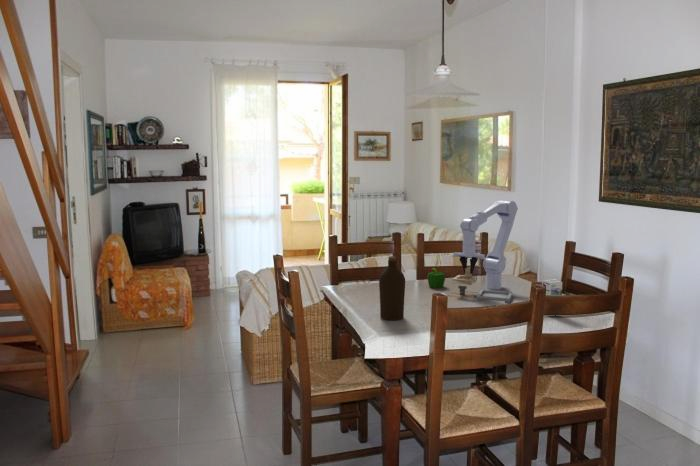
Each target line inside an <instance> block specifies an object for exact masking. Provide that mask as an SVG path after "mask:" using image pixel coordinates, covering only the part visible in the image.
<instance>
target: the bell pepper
mask: <svg viewBox="0 0 700 466" xmlns="http://www.w3.org/2000/svg"><path fill="white" fill-rule="evenodd" d="M431 270H432V271H431V272H428V273H427V283H428V286H429V288H432V289H442V288H443V287H444V285H445V282H446V273H444V272H441V271H438V270H437V269H436V268H435V267H433V268H431Z"/></svg>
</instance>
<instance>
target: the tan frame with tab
mask: <svg viewBox="0 0 700 466" xmlns="http://www.w3.org/2000/svg"><path fill="white" fill-rule="evenodd" d="M477 281H478V276H477V275H475V276H474V275H473V273H472V274H470V266H469V267H468V266H467V267H466V268H465V273H464V274H458V275H456V276H455V277H453V278H451V284H456V285H463V286H473V285H474V284H475V283H476V282H477Z"/></svg>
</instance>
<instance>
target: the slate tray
mask: <svg viewBox="0 0 700 466" xmlns="http://www.w3.org/2000/svg"><path fill="white" fill-rule="evenodd" d="M483 293H484V294H485V293H486V294H488V293H489V294H501V295H507V296H506V297H504V296H503V297H500V296H489V295H488V296H486V295H483ZM512 298H513V291H509V290H508V291H505V290H492V289H480V290H479V292H478V293H477V294H476V299H477V300H478V299H479V300H491V301H492V300H493V301H504V303H506V304H510V302H511V299H512Z"/></svg>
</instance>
